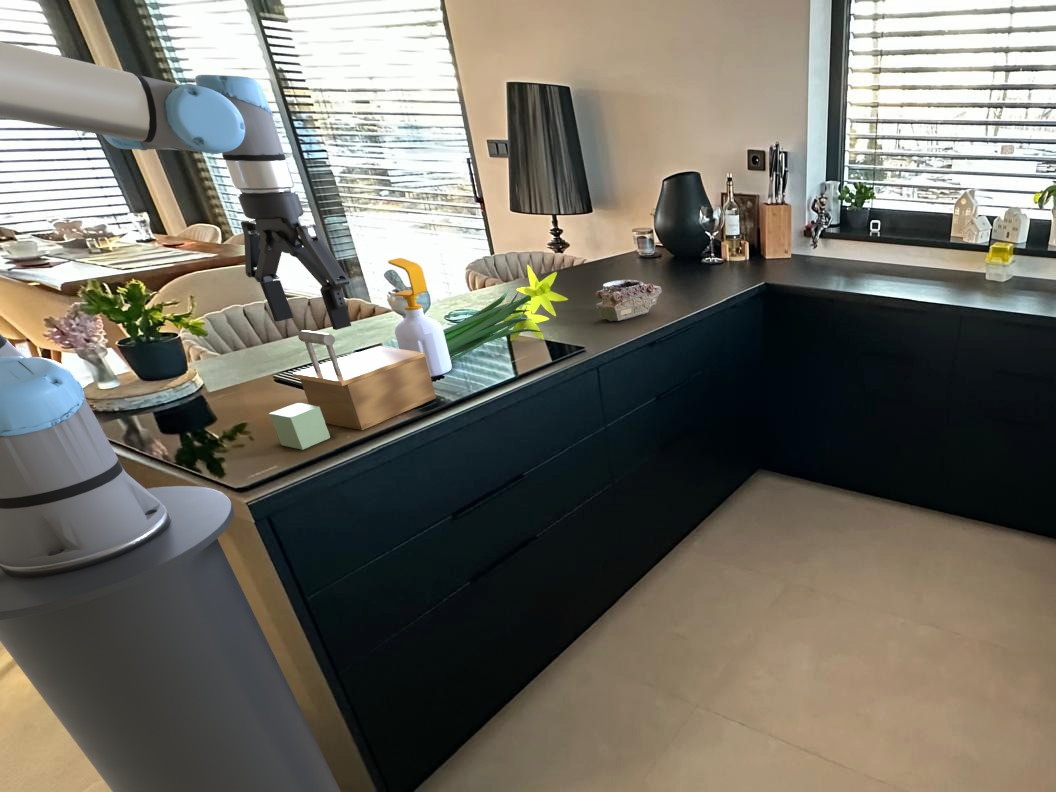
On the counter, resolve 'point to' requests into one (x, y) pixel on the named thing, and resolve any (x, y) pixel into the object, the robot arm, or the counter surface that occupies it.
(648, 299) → the decorative box
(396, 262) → the soap bottle
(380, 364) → the lid
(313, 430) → the block
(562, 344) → the counter surface
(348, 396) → the chest
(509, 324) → the daffodil flowers
